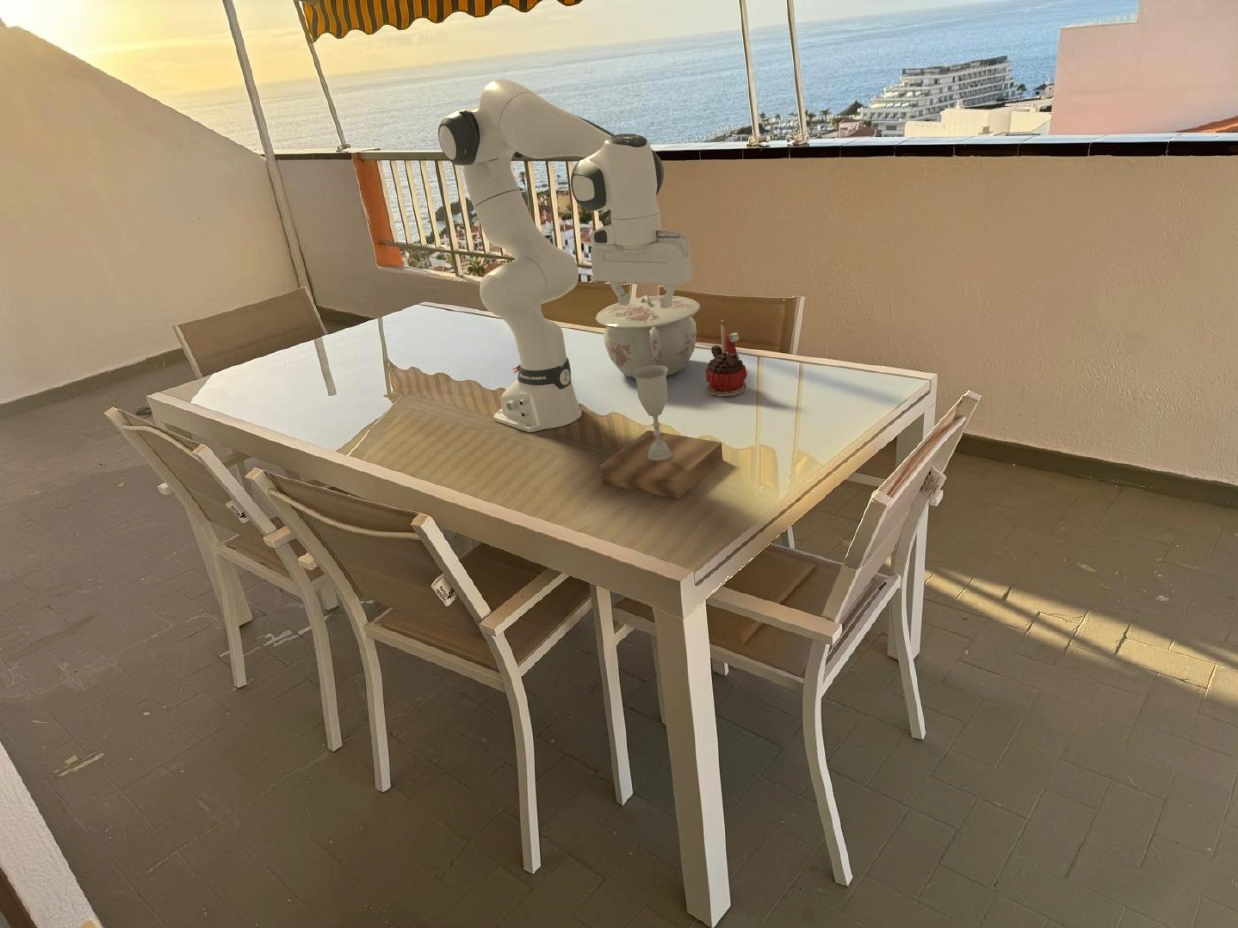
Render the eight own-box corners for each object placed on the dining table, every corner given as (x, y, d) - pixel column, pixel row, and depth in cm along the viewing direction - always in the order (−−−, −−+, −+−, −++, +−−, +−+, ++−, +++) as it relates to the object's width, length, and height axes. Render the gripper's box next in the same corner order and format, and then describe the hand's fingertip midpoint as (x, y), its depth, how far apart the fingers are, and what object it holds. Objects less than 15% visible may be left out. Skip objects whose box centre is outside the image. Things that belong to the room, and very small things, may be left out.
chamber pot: (640, 349, 245) (632, 279, 236) (723, 358, 229) (718, 283, 220) (582, 383, 225) (570, 308, 216) (668, 396, 210) (660, 315, 201)
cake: (700, 389, 211) (694, 320, 203) (732, 380, 214) (727, 311, 206) (721, 402, 202) (716, 330, 194) (754, 392, 205) (751, 321, 197)
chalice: (674, 462, 167) (665, 377, 159) (640, 463, 168) (630, 379, 160) (678, 446, 173) (670, 363, 165) (645, 447, 175) (636, 365, 167)
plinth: (602, 483, 171) (599, 465, 170) (649, 446, 184) (647, 430, 182) (678, 499, 162) (676, 480, 160) (722, 459, 174) (721, 442, 173)
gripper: (695, 227, 148) (702, 303, 154) (601, 226, 159) (610, 298, 165) (677, 235, 144) (684, 314, 150) (582, 234, 155) (592, 307, 161)
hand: (645, 305), depth 158 cm, fingers open, 8 cm apart
